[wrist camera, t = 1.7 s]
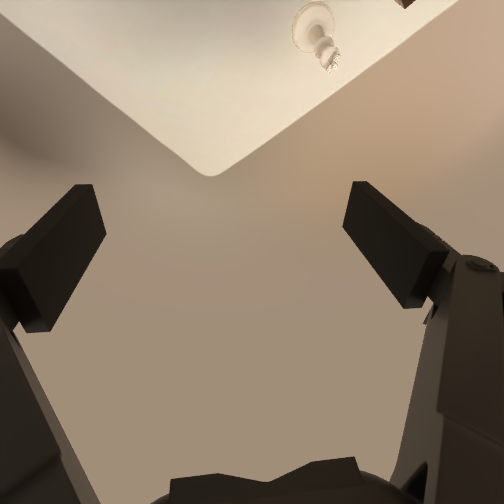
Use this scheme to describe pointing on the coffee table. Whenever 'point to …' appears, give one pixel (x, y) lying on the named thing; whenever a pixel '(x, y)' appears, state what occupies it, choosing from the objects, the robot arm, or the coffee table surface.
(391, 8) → the coffee table surface
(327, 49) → the chess piece
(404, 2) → the cabinet
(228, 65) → the coffee table surface
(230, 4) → the coffee table surface
